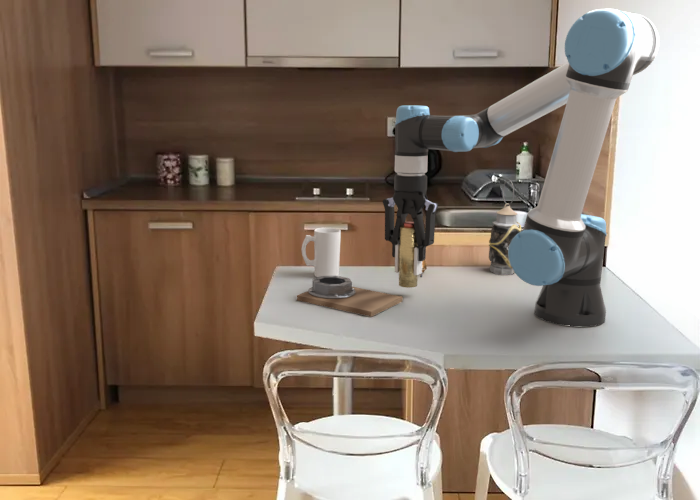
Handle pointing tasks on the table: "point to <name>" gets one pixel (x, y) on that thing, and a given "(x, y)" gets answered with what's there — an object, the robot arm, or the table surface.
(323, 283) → the flange socket
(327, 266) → the mug
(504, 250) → the lantern
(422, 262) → the figurine
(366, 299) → the board
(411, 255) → the gold cylinder
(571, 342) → the table surface
